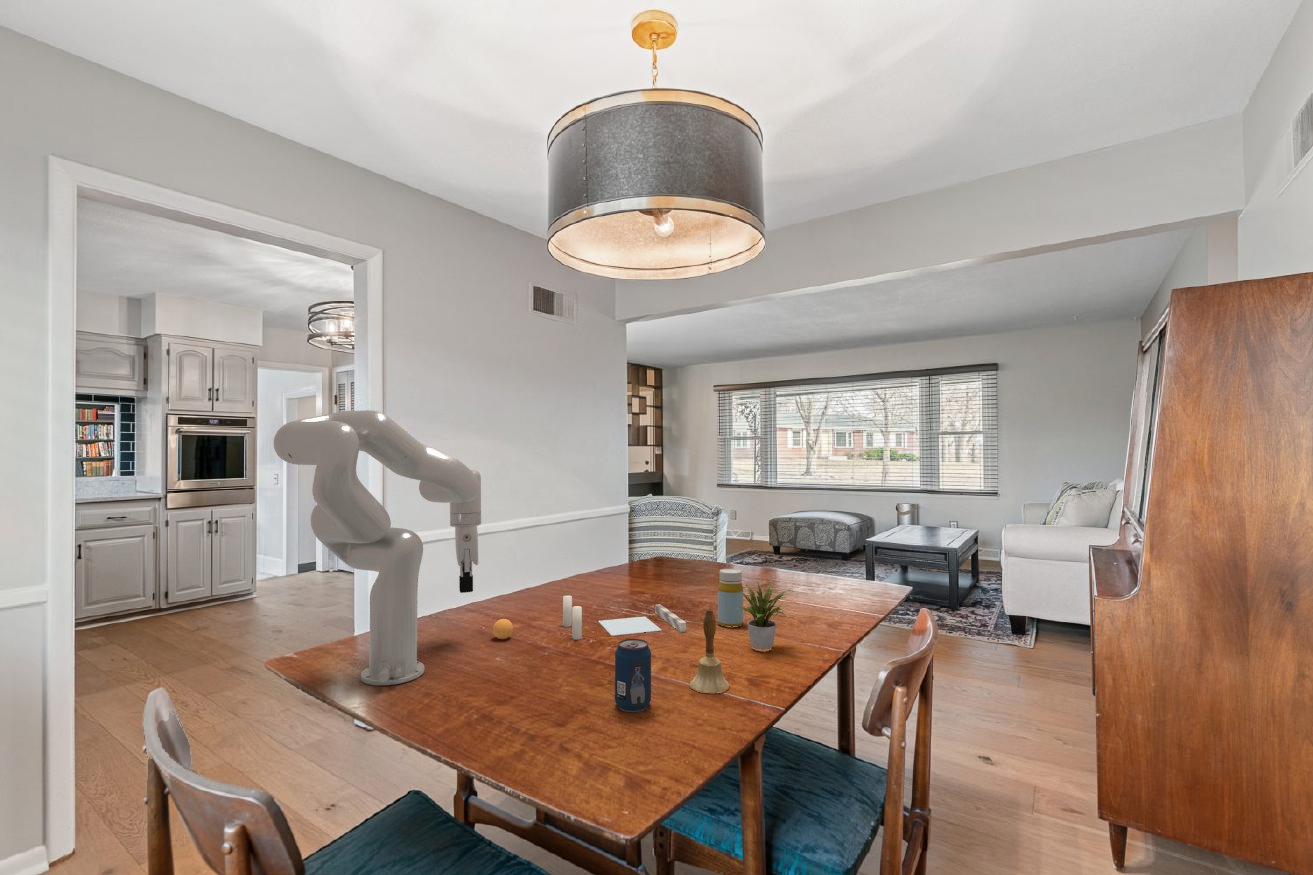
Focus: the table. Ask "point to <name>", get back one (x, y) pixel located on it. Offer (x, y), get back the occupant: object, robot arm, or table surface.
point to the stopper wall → (670, 618)
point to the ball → (502, 628)
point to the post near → (576, 622)
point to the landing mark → (629, 626)
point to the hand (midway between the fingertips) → (466, 591)
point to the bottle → (730, 598)
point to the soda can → (632, 675)
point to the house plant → (762, 617)
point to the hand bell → (709, 662)
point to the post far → (567, 611)
